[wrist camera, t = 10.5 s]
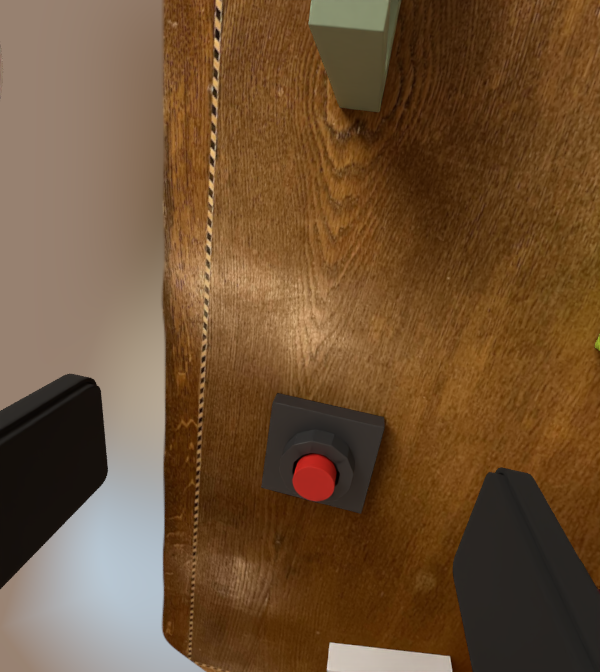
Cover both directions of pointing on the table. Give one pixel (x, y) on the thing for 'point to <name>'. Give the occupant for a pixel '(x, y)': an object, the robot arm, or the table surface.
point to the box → (598, 343)
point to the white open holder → (383, 660)
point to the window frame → (355, 47)
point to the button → (314, 477)
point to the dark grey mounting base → (322, 447)
